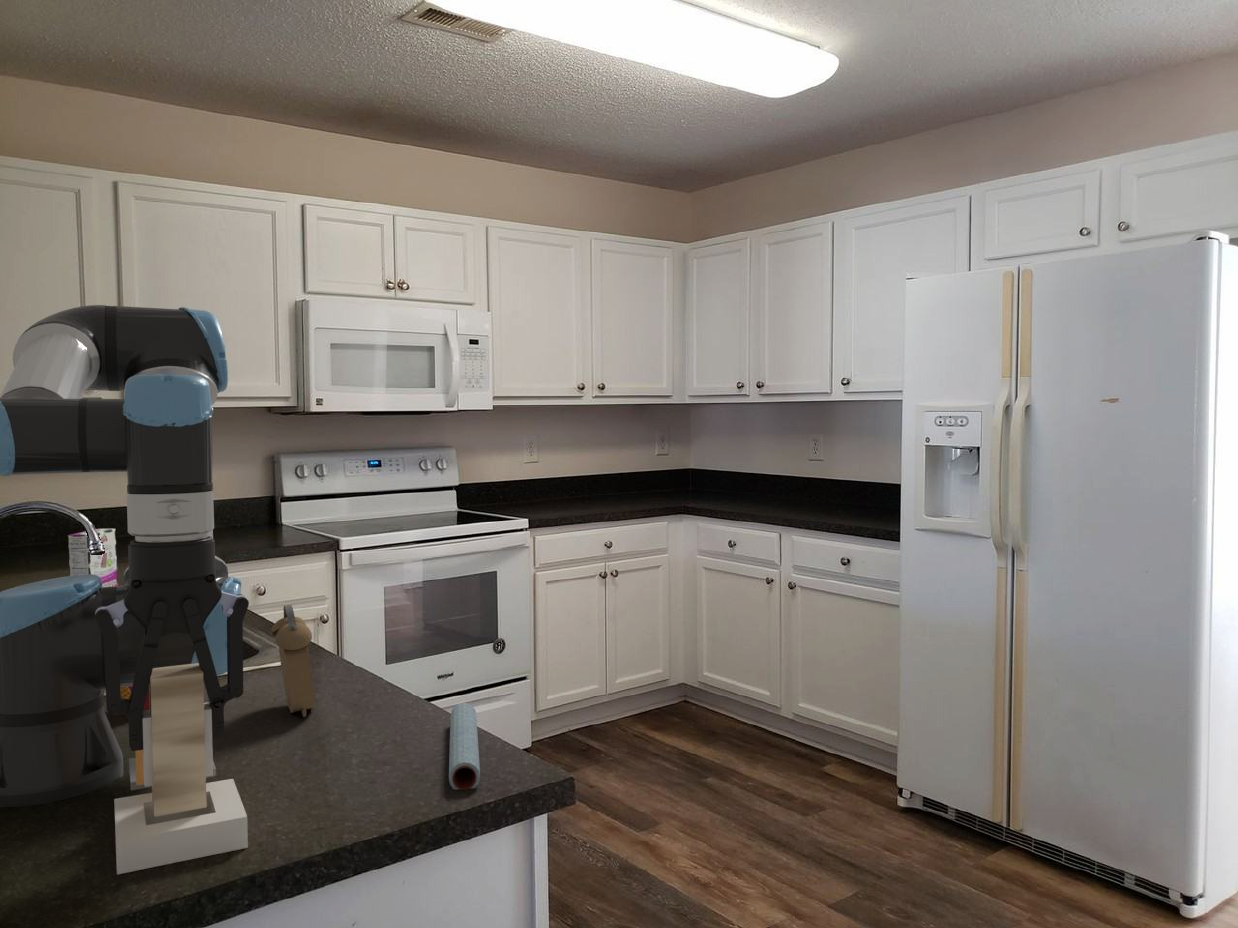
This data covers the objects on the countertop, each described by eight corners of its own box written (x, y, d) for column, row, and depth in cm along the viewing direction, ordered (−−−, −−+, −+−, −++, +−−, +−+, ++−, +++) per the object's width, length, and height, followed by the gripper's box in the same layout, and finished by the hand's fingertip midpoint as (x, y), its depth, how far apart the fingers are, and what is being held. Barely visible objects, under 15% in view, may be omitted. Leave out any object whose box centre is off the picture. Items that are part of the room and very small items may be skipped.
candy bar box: (97, 599, 219) (95, 528, 218) (119, 599, 219) (117, 528, 218) (69, 608, 208) (66, 534, 207) (91, 608, 208) (89, 534, 207)
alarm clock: (318, 719, 129) (315, 610, 128) (279, 724, 127) (277, 613, 126) (307, 698, 139) (305, 596, 138) (271, 702, 137) (269, 599, 136)
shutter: (131, 794, 95) (129, 747, 95) (128, 765, 103) (127, 721, 103) (217, 779, 99) (216, 734, 99) (208, 752, 107) (207, 710, 107)
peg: (152, 800, 93) (148, 668, 92) (202, 791, 95) (198, 662, 95) (154, 816, 89) (150, 679, 88) (206, 807, 91) (203, 673, 91)
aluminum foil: (450, 728, 126) (450, 703, 126) (501, 725, 127) (500, 700, 127) (448, 794, 104) (448, 763, 104) (510, 790, 105) (510, 759, 105)
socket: (116, 874, 85) (115, 841, 85) (115, 828, 95) (114, 798, 94) (247, 847, 90) (247, 816, 90) (233, 806, 100) (233, 778, 100)
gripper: (64, 546, 84) (72, 808, 84) (274, 534, 92) (279, 772, 93) (67, 538, 90) (74, 780, 91) (263, 527, 99) (268, 749, 99)
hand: (178, 775), depth 92 cm, fingers closed on peg, 4 cm apart
